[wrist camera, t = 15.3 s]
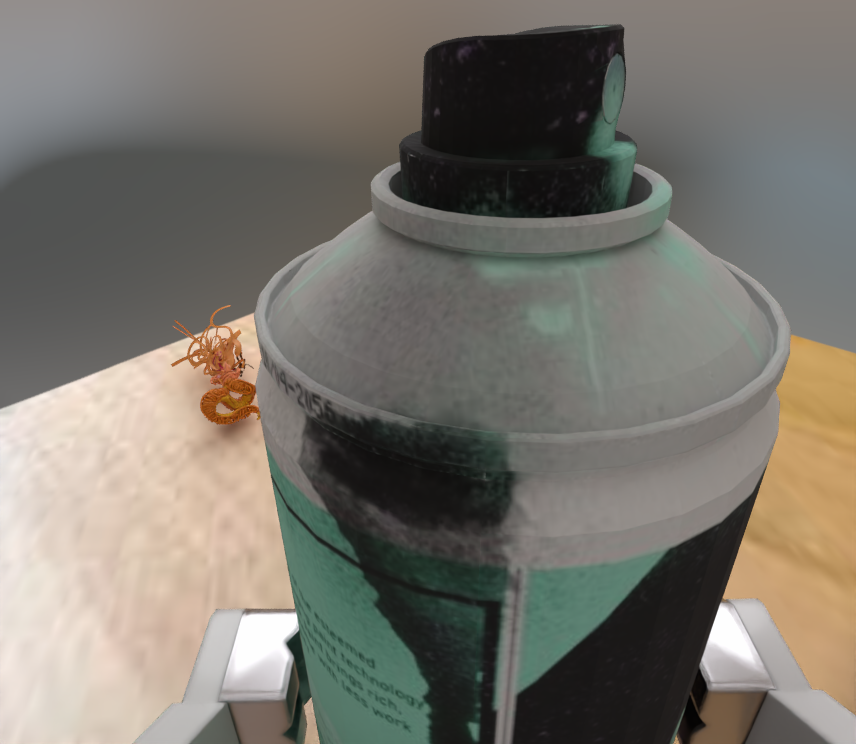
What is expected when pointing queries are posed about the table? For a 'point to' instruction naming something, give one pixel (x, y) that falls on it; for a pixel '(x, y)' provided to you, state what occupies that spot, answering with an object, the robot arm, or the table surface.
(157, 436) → the table surface
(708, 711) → the robot arm
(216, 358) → the dragon
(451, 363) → the spray can
